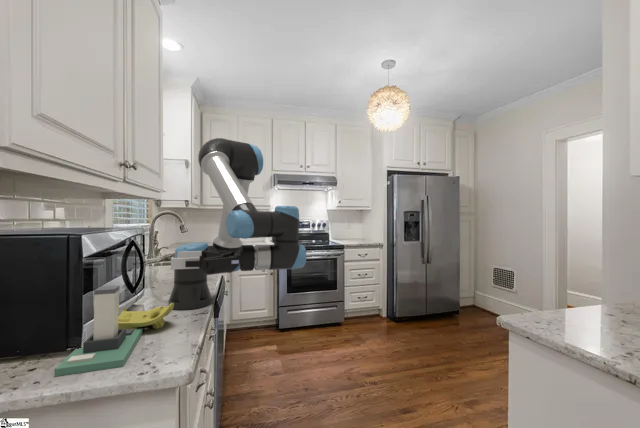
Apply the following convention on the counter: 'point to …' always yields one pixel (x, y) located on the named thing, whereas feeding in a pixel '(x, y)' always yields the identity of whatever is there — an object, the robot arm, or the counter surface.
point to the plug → (106, 312)
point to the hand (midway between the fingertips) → (174, 259)
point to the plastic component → (143, 318)
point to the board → (100, 353)
